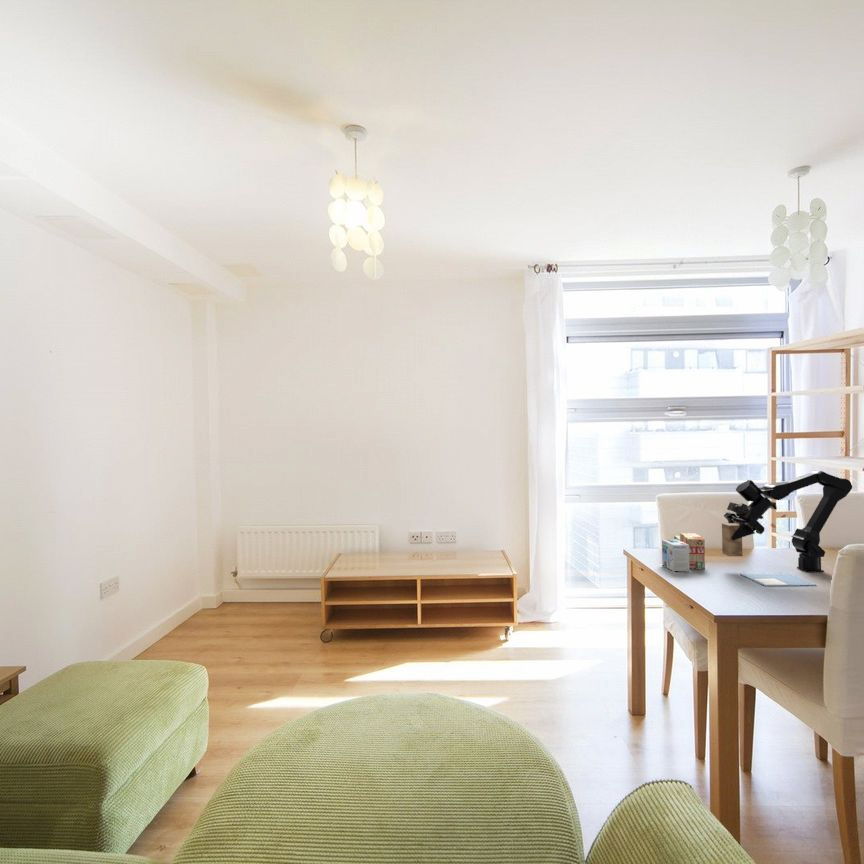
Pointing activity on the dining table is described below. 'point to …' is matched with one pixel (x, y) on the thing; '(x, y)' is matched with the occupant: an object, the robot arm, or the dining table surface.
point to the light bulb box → (675, 555)
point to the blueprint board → (777, 579)
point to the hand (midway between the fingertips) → (728, 538)
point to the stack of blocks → (694, 549)
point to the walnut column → (728, 544)
